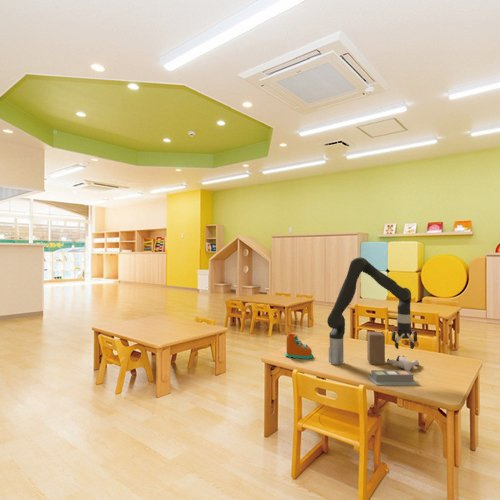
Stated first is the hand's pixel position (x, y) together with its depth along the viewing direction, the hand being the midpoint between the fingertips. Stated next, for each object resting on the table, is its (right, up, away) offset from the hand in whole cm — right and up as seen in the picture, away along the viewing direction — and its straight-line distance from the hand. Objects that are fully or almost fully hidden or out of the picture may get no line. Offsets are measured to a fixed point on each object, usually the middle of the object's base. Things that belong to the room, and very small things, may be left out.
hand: (404, 348), depth 203 cm
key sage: (-16, -15, -4) cm, 22 cm away
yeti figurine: (+9, -18, +20) cm, 29 cm away
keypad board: (-9, -18, -4) cm, 20 cm away
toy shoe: (-57, -18, +43) cm, 73 cm away
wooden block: (-7, -18, +28) cm, 34 cm away
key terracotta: (-2, -15, -3) cm, 16 cm away
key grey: (-9, -15, -4) cm, 18 cm away
